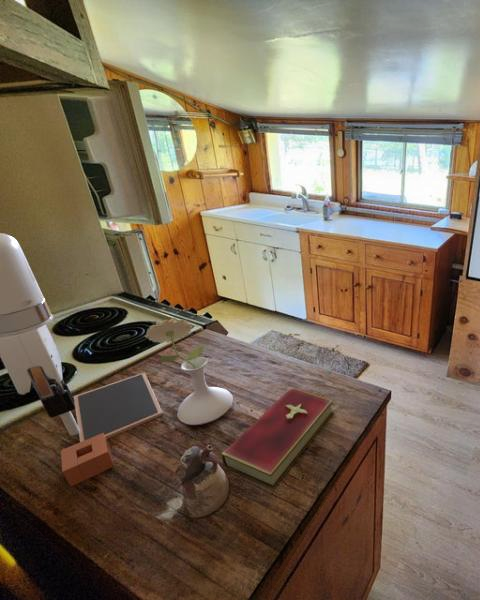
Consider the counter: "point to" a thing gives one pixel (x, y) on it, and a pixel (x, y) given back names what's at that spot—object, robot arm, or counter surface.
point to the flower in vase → (192, 376)
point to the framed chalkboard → (116, 407)
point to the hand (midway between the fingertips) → (62, 408)
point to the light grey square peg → (70, 423)
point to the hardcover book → (278, 437)
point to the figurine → (202, 481)
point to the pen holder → (86, 459)
